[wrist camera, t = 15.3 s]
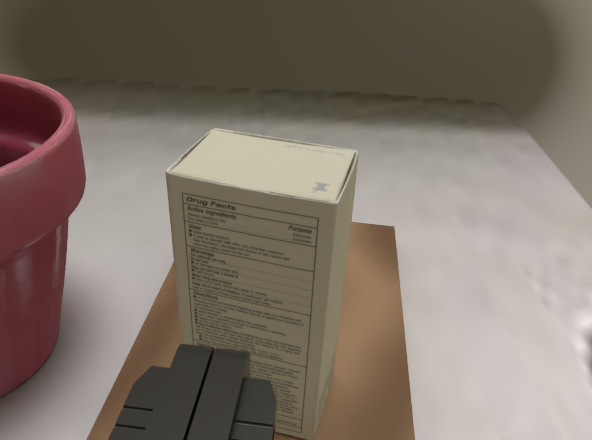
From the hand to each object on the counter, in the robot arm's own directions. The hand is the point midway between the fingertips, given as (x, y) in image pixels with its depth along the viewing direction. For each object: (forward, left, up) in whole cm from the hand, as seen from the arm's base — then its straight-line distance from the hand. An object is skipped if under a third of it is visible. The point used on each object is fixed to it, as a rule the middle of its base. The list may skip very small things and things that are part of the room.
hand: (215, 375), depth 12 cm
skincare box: (0, +10, -12) cm, 15 cm away
